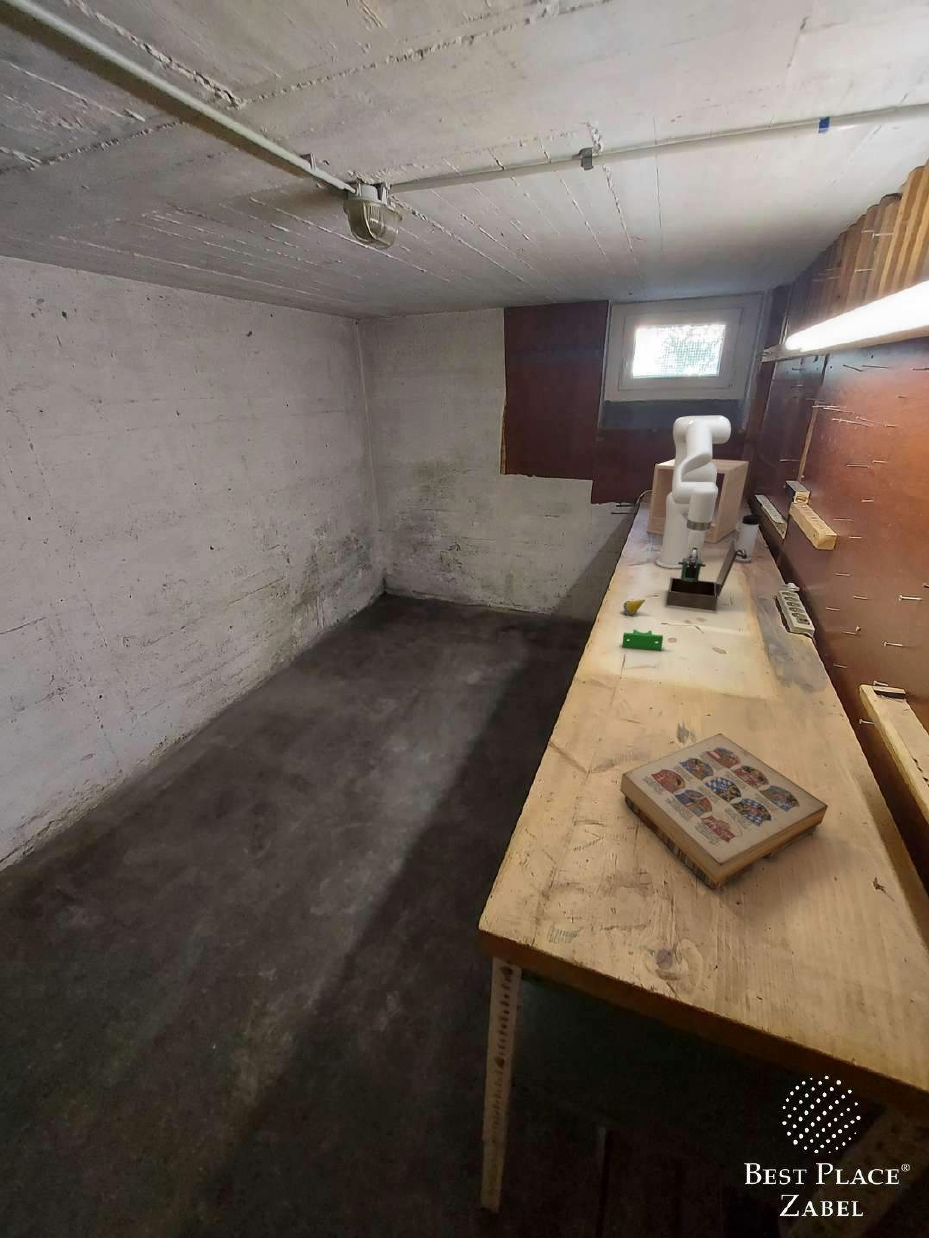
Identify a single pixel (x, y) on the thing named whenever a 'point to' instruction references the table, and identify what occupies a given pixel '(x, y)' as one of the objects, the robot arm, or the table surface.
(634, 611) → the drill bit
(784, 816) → the beige printed box
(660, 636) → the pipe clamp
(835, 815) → the table surface
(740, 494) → the storage cube
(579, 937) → the table surface
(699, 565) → the pot
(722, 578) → the chest lid
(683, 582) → the chest
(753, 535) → the travel mug
